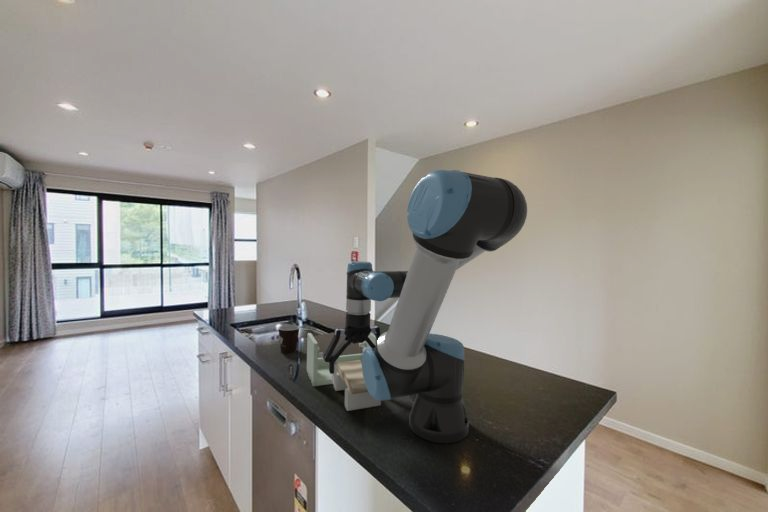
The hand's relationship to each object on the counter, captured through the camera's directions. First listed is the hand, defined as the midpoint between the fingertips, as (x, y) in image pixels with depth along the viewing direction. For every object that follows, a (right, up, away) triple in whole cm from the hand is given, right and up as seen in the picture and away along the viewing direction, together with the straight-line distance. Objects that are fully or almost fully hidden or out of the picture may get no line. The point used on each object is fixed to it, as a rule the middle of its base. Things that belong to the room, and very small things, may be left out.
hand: (355, 380), depth 98 cm
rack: (0, -5, 0) cm, 5 cm away
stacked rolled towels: (0, 0, 0) cm, 1 cm away
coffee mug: (-32, -3, +37) cm, 49 cm away
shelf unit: (-6, -4, +15) cm, 17 cm away
